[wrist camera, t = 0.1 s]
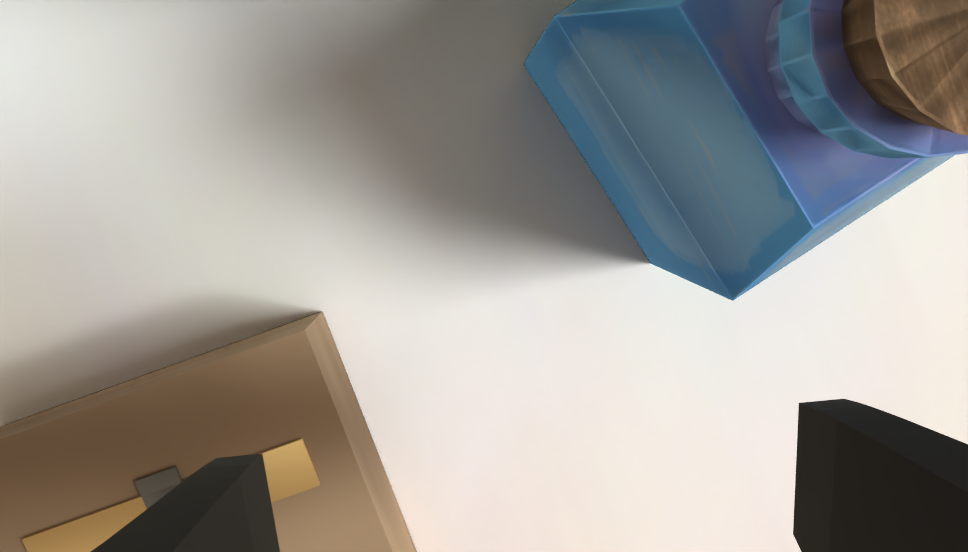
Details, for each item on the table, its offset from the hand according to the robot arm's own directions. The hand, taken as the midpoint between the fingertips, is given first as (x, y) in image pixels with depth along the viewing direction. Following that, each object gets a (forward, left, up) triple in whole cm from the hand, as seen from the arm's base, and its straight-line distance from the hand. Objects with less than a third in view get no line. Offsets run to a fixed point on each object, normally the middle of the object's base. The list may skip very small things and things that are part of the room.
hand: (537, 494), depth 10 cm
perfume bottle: (+8, 0, -11) cm, 13 cm away
